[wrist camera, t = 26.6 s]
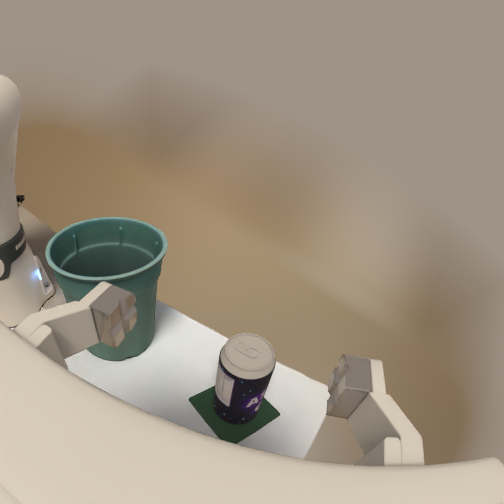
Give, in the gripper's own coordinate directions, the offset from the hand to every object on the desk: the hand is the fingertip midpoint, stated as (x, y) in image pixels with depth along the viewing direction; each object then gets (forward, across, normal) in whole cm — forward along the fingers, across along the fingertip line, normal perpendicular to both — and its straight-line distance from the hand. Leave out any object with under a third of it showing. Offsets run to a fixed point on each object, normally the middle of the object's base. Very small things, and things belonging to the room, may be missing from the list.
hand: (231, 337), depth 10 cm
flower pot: (+18, +21, +26) cm, 38 cm away
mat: (+12, 0, +26) cm, 29 cm away
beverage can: (+12, 0, +26) cm, 28 cm away
